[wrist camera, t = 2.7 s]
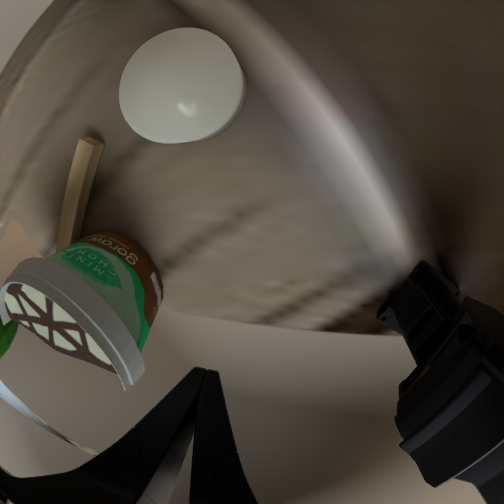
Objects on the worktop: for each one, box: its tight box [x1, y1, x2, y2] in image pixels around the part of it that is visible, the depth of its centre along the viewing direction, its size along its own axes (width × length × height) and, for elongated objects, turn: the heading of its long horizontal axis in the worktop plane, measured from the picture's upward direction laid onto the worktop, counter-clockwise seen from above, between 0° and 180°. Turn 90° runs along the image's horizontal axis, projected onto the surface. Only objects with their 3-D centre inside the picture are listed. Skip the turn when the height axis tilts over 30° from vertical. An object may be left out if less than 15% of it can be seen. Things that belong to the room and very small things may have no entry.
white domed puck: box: [119, 28, 247, 144], centre depth 14 cm, size 7×7×4 cm
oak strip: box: [56, 137, 105, 253], centre depth 20 cm, size 2×16×2 cm, turn 152°
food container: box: [0, 230, 163, 391], centre depth 16 cm, size 12×6×10 cm, turn 76°
